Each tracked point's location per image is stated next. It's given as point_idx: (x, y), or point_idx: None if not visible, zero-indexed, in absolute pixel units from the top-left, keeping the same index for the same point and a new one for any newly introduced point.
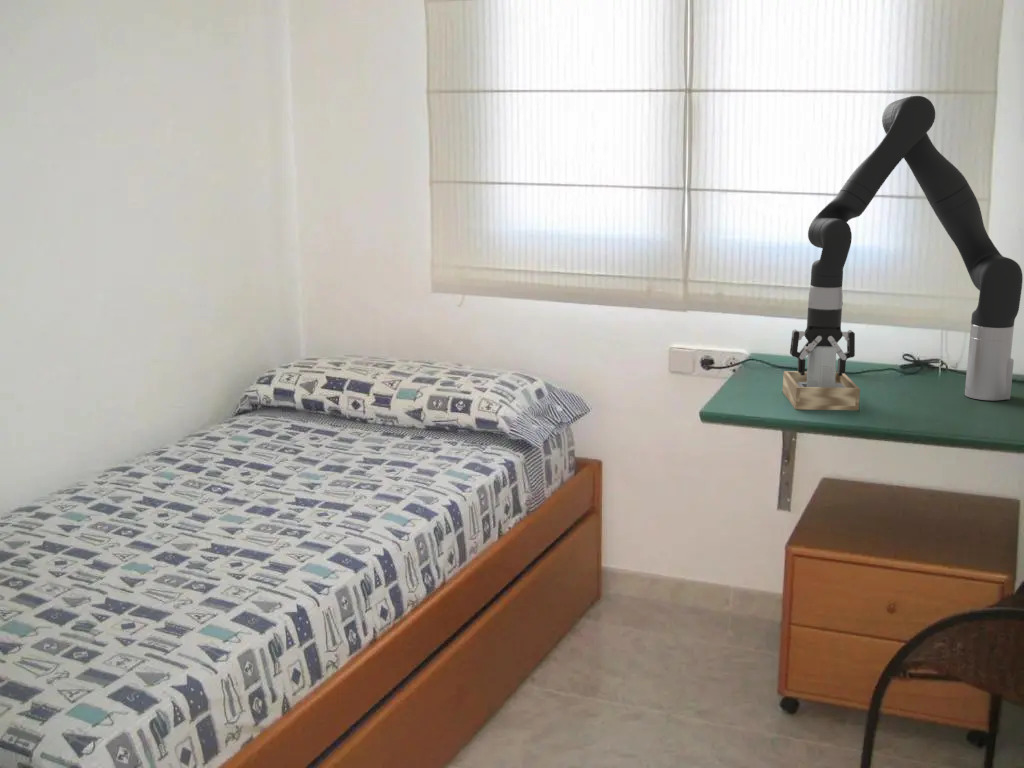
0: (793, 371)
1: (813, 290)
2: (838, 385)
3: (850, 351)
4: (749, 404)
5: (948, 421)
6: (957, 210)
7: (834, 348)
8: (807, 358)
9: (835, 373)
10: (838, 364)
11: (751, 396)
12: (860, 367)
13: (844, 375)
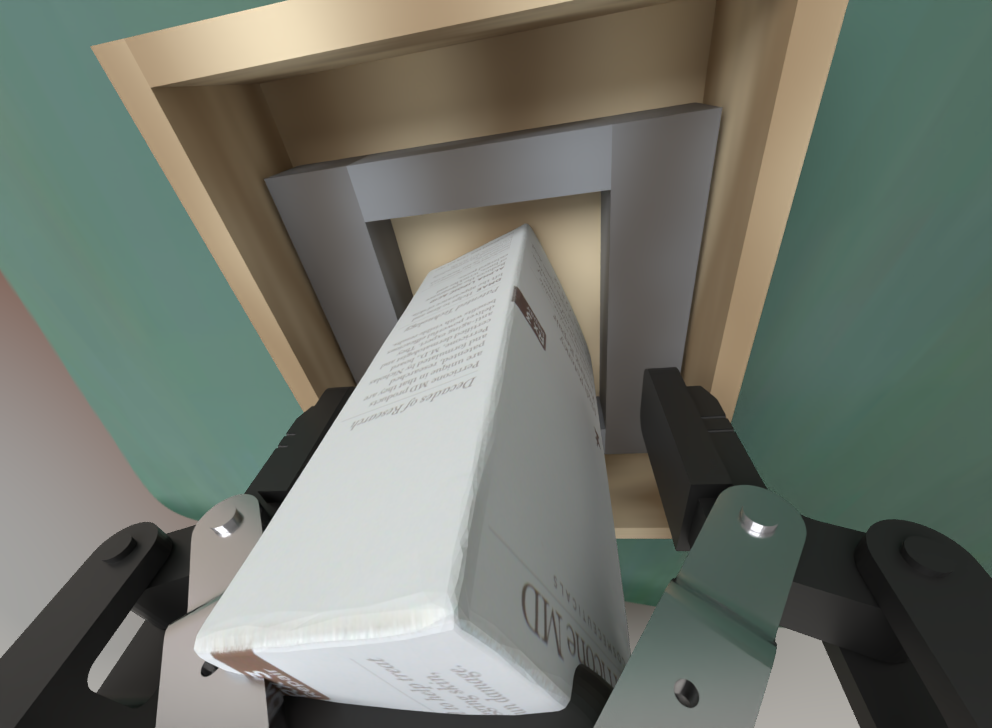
0: (193, 30)
1: None
2: (660, 231)
3: (861, 688)
4: (217, 409)
5: (967, 536)
6: None
7: None
8: (319, 454)
9: (604, 466)
10: (667, 456)
11: (140, 263)
12: None
13: (782, 155)
